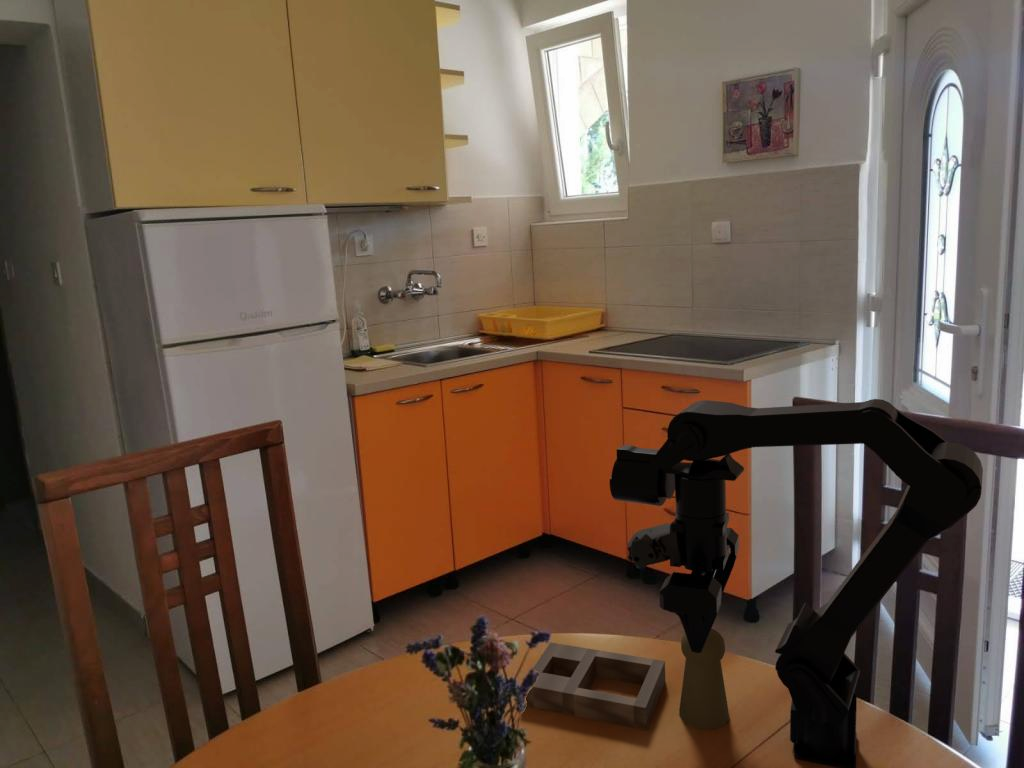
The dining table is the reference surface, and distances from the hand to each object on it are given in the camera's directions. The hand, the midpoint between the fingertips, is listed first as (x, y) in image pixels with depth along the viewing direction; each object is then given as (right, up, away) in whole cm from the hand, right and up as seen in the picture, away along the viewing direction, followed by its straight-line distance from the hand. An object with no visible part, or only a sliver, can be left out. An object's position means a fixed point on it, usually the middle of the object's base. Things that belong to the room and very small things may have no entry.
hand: (703, 632), depth 95 cm
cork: (+1, -11, +2) cm, 11 cm away
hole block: (-12, -10, +8) cm, 18 cm away
